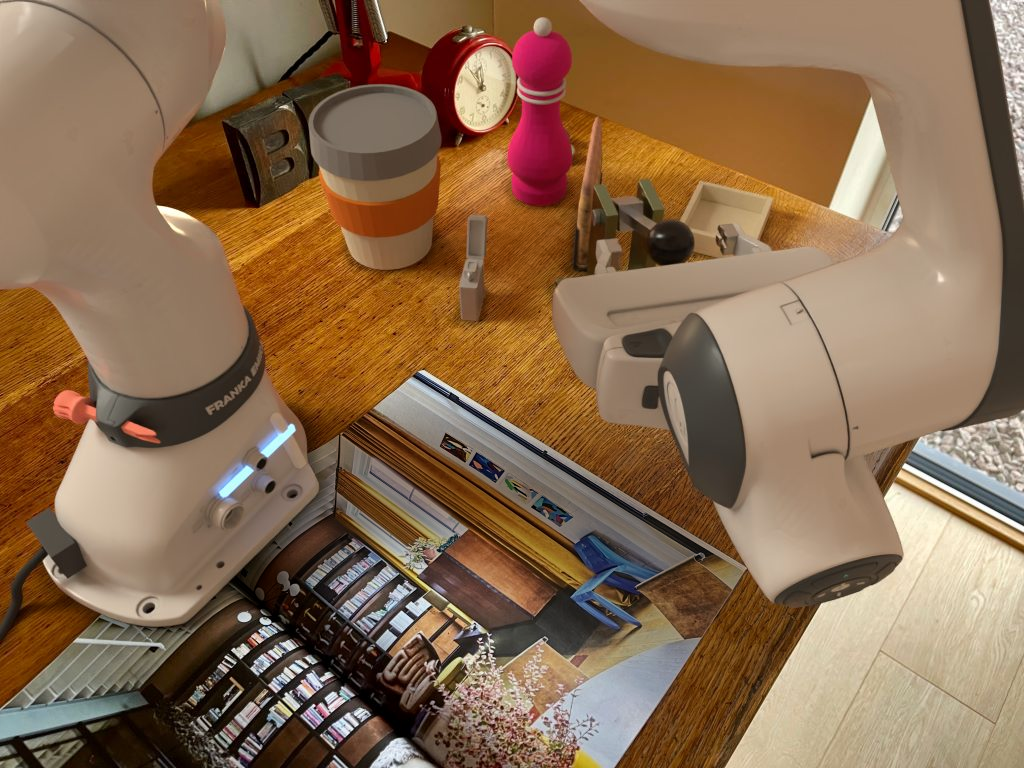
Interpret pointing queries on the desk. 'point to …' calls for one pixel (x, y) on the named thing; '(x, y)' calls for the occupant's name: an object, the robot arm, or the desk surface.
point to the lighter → (473, 268)
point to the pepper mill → (540, 117)
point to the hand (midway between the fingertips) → (666, 238)
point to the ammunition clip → (588, 197)
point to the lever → (655, 232)
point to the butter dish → (723, 214)
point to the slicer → (606, 225)
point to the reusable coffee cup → (379, 170)
